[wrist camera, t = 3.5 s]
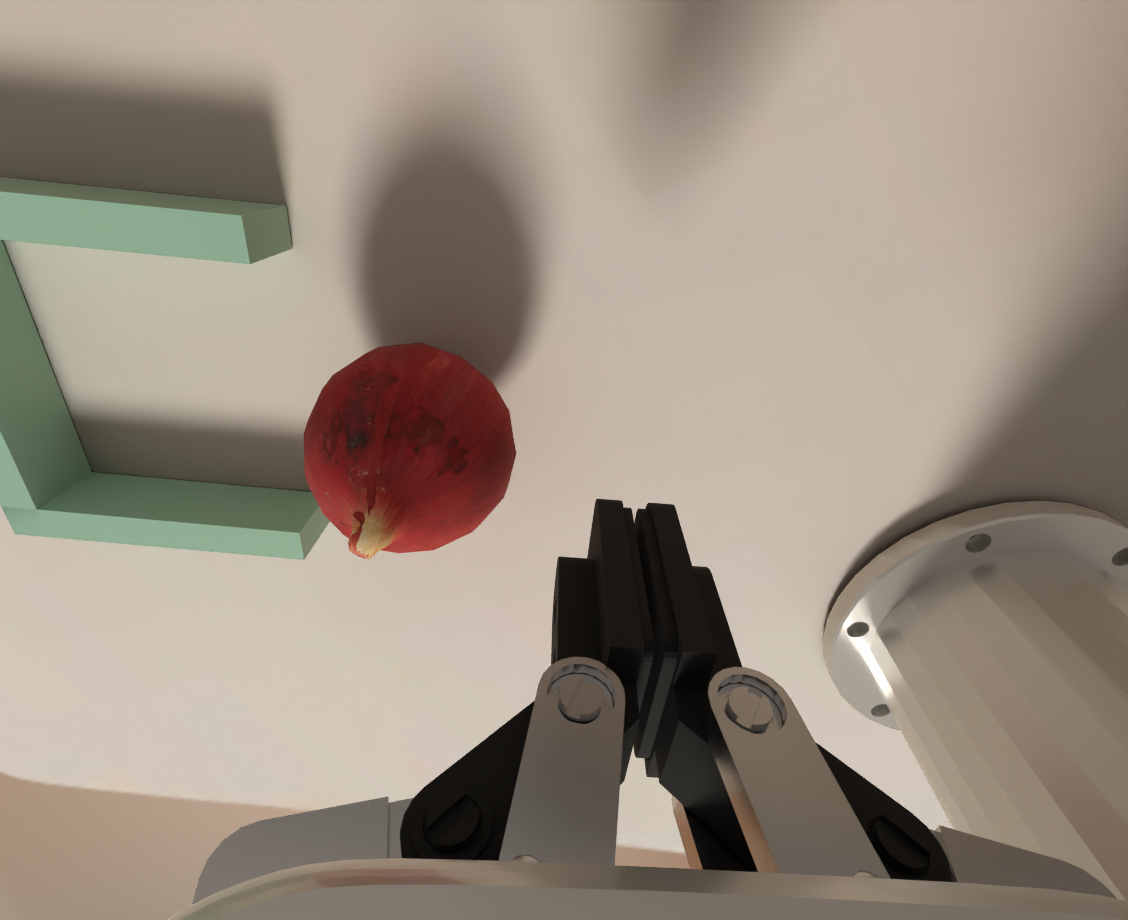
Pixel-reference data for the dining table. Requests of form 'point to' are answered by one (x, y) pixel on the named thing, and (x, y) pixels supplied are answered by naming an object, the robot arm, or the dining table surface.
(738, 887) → the robot arm
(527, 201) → the dining table surface
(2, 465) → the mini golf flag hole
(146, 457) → the dining table surface
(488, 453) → the onion
